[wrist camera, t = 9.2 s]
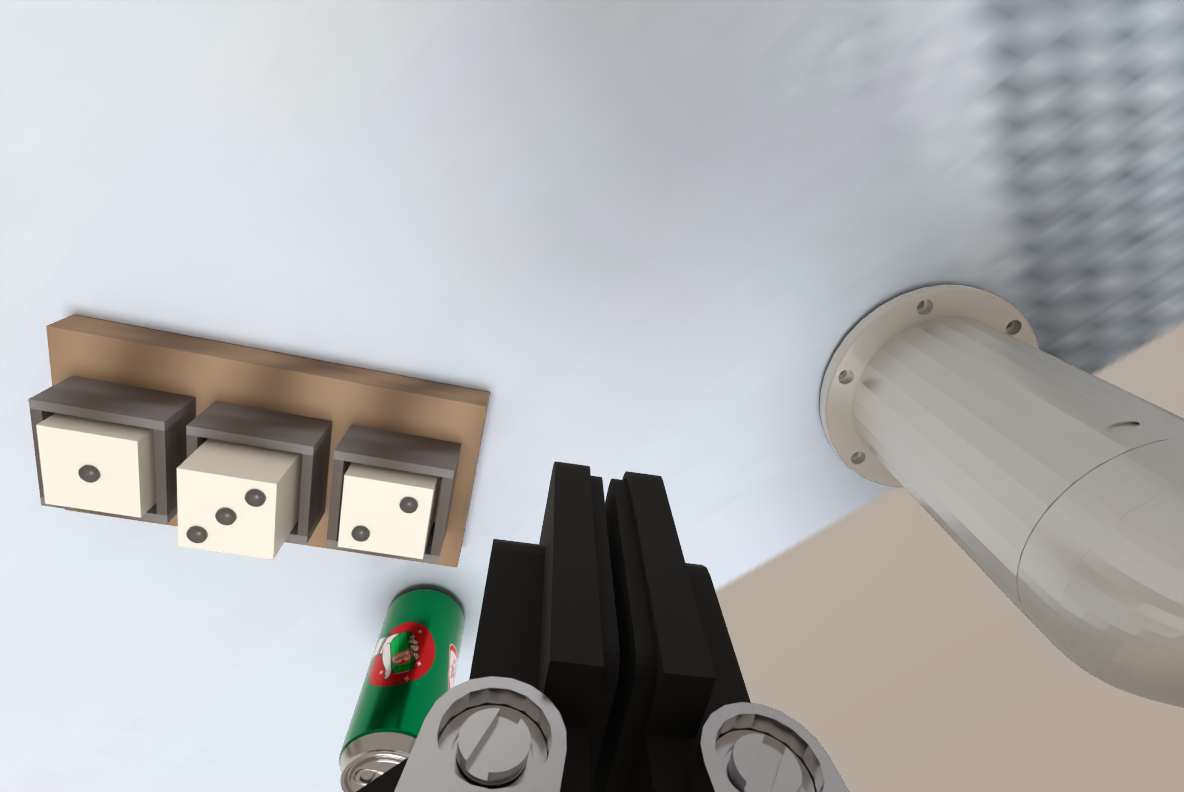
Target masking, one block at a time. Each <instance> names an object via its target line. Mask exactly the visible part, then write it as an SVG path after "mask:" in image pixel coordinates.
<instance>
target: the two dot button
mask: <svg viewBox="0 0 1184 792" xmlns="http://www.w3.org/2000/svg"><path fill="white" fill-rule="evenodd" d="M440 479H441V477H439V476H433V475H427V474H421V473H415V472H409V471H403V470H397V469H391V468H385V467H379V466H373V465H367V464H361V463H355V462H352V463H351V465H350V466H349V468H348V470H347V472H346V473H345V475H344V485H343V496H342V506H341V517H340V528H339V538H338V547H343V548H350V549H356V550H363V551H370V552H377V553H383V554H390V555H397V556H404V557H410V558H417V559H423V557H424V553H425V550H426V546H427V543H428V539H429V536H430V533H431V529H432V526H433V522H434V517H435V511H436V504H437V498H438V492H439V486H440Z"/></svg>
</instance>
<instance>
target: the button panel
mask: <svg viewBox="0 0 1184 792" xmlns="http://www.w3.org/2000/svg"><path fill="white" fill-rule="evenodd" d="M46 327H47V337H48V347H49V357H50V366H51V376H52V387H50V388H48V389H47V390H45V391H43V392H41V393H39V394H37V395H35V396H34V397H32V398H30V399H29V405H30V414H31V422H32V430H33V439H34V447H35V456H36V464H37V473H38V481H39V490H40V498H41V505H44V506H51V507H57V508H64V509H65V510H70V511H77V512H84V513H91V514H98V515H104V516H111V517H118V518H125V519H132V520H138V521H145V522H152V523H159V524H166V525H172V526H178V506H177V467H178V466H180V465H181V464H182V463H183V462H184V461H185V460H186V459H187V458H188V457H189V456H190V455H191V454H192V453H193V452H194V451H195V450H197V449H198V448H199V447H200V446H201V445H202V444H203V443H204V442H205V441H206V440H207V439H208V438H210V439H216V440H222V441H228V442H234V443H240V444H246V445H252V446H258V447H264V448H270V449H276V450H282V451H288V452H294V453H300V454H303V458H302V473H301V489H300V505H299V519H298V521H297V522H296V524H295V526H294V527H293V529H292V530H291V532H290V534H289V535H288V537H287V538H286V540H285V542H288V543H295V544H302V545H308V546H315V547H322V548H329V549H336V550H342V551H349V552H356V553H363V554H370V555H376V556H383V557H390V558H397V559H404V560H410V561H417V562H424V563H431V564H438V565H444V566H451V567H457V566H458V561H459V557H460V552H461V547H462V542H463V536H464V531H465V525H466V520H467V514H468V509H469V504H470V498H471V493H472V487H473V482H474V476H475V471H476V465H477V460H478V455H479V449H480V444H481V438H482V433H483V427H484V422H485V416H486V411H487V406H488V400H489V395H490V392H486V391H480V390H475V389H470V388H464V387H459V386H454V385H448V384H443V383H438V382H432V381H427V380H421V379H416V378H411V377H405V376H400V375H395V374H389V373H384V372H379V371H373V370H368V369H363V368H357V367H352V366H346V365H341V364H336V363H330V362H325V361H320V360H314V359H309V358H304V357H298V356H293V355H288V354H282V353H277V352H271V351H266V350H261V349H255V348H250V347H245V346H239V345H234V344H229V343H223V342H218V341H212V340H207V339H202V338H196V337H191V336H186V335H180V334H175V333H170V332H164V331H159V330H154V329H148V328H143V327H137V326H132V325H127V324H121V323H116V322H111V321H105V320H100V319H95V318H89V317H84V316H79V315H72V316H69V317H67V318H64V319H62V320H60V321H57V322H55V323H52V324H50V325H48V326H46ZM55 413H60V414H66V415H72V416H78V417H84V418H90V419H96V420H102V421H108V422H114V423H120V424H126V425H132V426H138V427H144V428H150V429H154V450H155V477H156V504H155V505H154V506H152V507H151V508H150V509H149V510H148V511H147V512H146V513H145V514H144V515H143V516H142V517H141V518H139V517H132V516H126V515H119V514H112V513H105V512H99V511H92V510H85V509H78V508H72V507H65V506H58V505H51V504H45V498H44V489H43V480H42V472H41V463H40V454H39V446H38V437H37V428H36V425H37V424H38V423H40V422H42V421H43V420H45V419H47V418H48V417H50V416H52V415H53V414H55ZM352 462H355V463H361V464H367V465H373V466H379V467H385V468H391V469H397V470H403V471H409V472H415V473H421V474H427V475H433V476H439V477H441V479H440V486H439V492H438V498H437V504H436V511H435V517H434V522H433V526H432V529H431V533H430V536H429V539H428V543H427V546H426V550H425V553H424V557H423V559H417V558H410V557H404V556H397V555H390V554H383V553H377V552H370V551H363V550H356V549H350V548H343V547H338V538H339V528H340V517H341V506H342V496H343V485H344V475H345V473H346V472H347V470H348V468H349V466H350V465H351V463H352Z"/></svg>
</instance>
